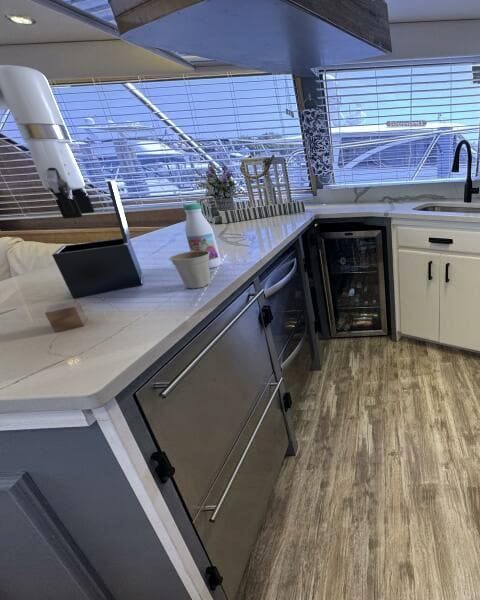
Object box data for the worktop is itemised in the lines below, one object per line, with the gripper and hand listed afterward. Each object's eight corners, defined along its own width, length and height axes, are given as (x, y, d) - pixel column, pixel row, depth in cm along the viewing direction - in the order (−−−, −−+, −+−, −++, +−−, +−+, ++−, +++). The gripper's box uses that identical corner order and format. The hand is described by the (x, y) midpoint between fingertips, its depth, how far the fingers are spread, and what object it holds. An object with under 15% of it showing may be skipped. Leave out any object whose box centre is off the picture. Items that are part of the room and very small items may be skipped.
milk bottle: (199, 264, 109) (180, 203, 101) (224, 261, 111) (208, 201, 103) (193, 270, 102) (172, 206, 94) (219, 267, 104) (202, 204, 96)
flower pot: (209, 277, 95) (201, 248, 92) (223, 283, 90) (215, 253, 86) (173, 286, 89) (163, 256, 85) (187, 294, 83) (176, 261, 80)
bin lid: (106, 181, 80) (110, 181, 81) (111, 180, 90) (114, 180, 90) (124, 243, 86) (128, 242, 86) (126, 235, 95) (130, 235, 96)
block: (55, 332, 66) (44, 312, 64) (59, 324, 69) (49, 305, 67) (84, 325, 68) (74, 306, 66) (87, 318, 71) (78, 300, 70)
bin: (73, 298, 83) (51, 254, 78) (81, 285, 92) (62, 245, 88) (142, 285, 91) (126, 244, 86) (143, 274, 100) (129, 237, 96)
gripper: (39, 138, 76) (72, 213, 82) (1, 131, 62) (44, 221, 68) (81, 138, 79) (109, 210, 86) (53, 131, 65) (89, 217, 72)
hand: (80, 215), depth 77 cm, fingers open, 9 cm apart
